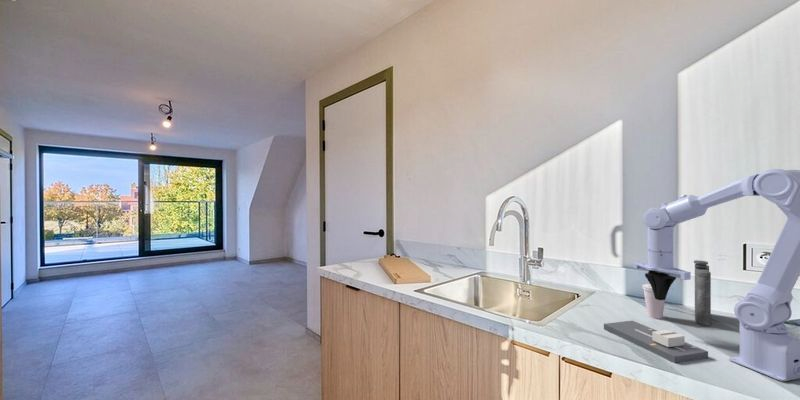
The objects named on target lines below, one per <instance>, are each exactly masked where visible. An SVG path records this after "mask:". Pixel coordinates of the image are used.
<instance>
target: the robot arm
mask: <svg viewBox="0 0 800 400" xmlns="http://www.w3.org/2000/svg"><path fill="white" fill-rule="evenodd" d="M747 196H749V197H757V196H759V197H760V196H761V197H762V198H764V199H765V200H768V201H770V202H771V203H773V204H775V205H776V207H778V208H779V209H780V210H781V211H782V213H783V214H784V215H785V217H787V218H786V220H785V223H784V225H783V227H782V228H781V231H780V233H779V236H778V238H777V239H776V242H775V244H774V246H773V248H772V250H771V252H770V254H769V257H768V259H767V261H766V262H765V265H764V267H763V269H762V271H761V273H760V276H759V277H758V280H757V282H756V284H755V285H754V286H752V288H751V289H749V290H748V292H747V293H746V296H745V297H744V298H742V299H741V300H739V301H737V303H736V304H735V306H734V308H733V312H734V315H735V317H736V319H737V320H738V321H739V355H738V356H731V357H728V360H729V361H731V362H734V363H736V364H738V365H741V366H743V367H746V368H748V369H751V370H753V371H755V372H758V373H761V374H762V375H766V376H768V377H770V378H773V379H776V380H778V381H780V382H787V381H792V380H793V381H794V380H799V379H800V337H798V336H794V335H792V334H790V333H789V332H788V328H787V325H786V324H785V322H788V320H790V319H791V317H792V314H793V311H792V307H791V303H792V301H793V299H794V297H793V294H792V291H793V289H794V287H795V286H796V284H797V281H798V279H799V278H800V169H782V168H772V169H767V170H765V171H763V172H761V173H756V174H751V175H748V176H746V177H743V178H740V179H738V180H736V181H733V182H732V183H729V184H726V185H724V186H721V187H718V188H717V189H714V190H712V191H710V192H708V193H705V194H702V195H700V196H697V195H694V194H689V195H687V194H682V195H681V196H680V195H679V197H678V198H679V199H677V200H674V201H671V202H669V203H668V202H667V203H665V202H664V203H662V204H661V207H660V208H659V207H650V208H649V209H648V210H646V211H645V212H644V213H643V215H642V221H643V223H644V226H646V227H647V228H646V231H647V232H646V235H647V236H646V239H647V241H646V242H647V246H646V248H647V258H646V261H647V262H643V261H634V262H633V269H637V270H643V271H648V272H647V273H646V272H645V273H644V276H645V278H646V279H647V282H649V283H648V284H650V285H651V287H652V290H653V293H654V296H655V299H657V300H665V301H666V298H667V296H668V292H669V290H670V288H671V286H672V285H673V284H674V282H675V281H676V280H677V278H678V279H681V280H684V281H686V280H687V281H688V280H691V278H692V277H691V276H692V275H691V271H687V270H684V269H680V268H677V267H674V228H675V227H676V226H677V225H678V224H680V223H681V224H682V223H685V222H688V221H690V220H692V219H696V218H699V217H702V216H704V215H705V214H706V212H707V210H708V209H709V208H712V207H715V206H718V205H721V204H725V203H728V202H731V201H734V200H737V199H740V198H743V197H747Z"/></svg>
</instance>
